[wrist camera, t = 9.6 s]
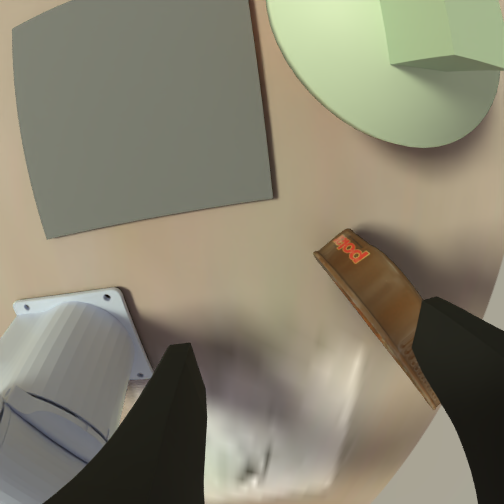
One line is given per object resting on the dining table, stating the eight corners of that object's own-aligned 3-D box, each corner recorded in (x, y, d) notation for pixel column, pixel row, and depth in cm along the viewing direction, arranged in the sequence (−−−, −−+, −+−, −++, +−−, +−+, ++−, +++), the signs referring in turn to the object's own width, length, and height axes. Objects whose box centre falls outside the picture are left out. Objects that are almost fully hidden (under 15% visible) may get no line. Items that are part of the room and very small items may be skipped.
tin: (295, 234, 19) (346, 317, 11) (336, 201, 18) (412, 264, 11) (392, 356, 25) (435, 428, 17) (420, 334, 24) (470, 402, 17)
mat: (49, 237, 17) (46, 239, 17) (15, 29, 11) (12, 28, 11) (271, 196, 18) (273, 198, 17) (241, -35, 12) (242, -38, 12)
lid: (284, 153, 12) (324, 177, 8) (248, -94, 7) (263, -157, 3) (496, 146, 13) (562, 168, 8) (465, -49, 7) (520, -67, 3)
